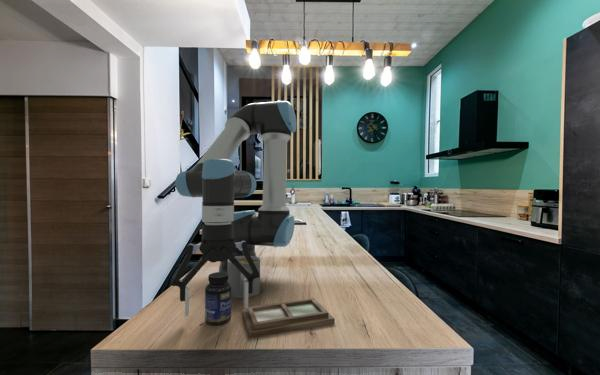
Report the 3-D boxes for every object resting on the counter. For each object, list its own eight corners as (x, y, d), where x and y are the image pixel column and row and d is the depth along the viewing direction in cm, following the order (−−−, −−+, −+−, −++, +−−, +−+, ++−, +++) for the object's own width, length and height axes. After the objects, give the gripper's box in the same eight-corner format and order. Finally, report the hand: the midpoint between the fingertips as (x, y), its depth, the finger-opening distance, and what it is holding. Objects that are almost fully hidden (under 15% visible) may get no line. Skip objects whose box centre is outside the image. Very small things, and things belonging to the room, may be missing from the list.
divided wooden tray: (242, 314, 72) (242, 305, 72) (315, 303, 78) (315, 295, 78) (250, 338, 61) (250, 327, 61) (334, 323, 67) (334, 314, 67)
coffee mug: (231, 286, 92) (231, 255, 92) (262, 286, 92) (262, 255, 92) (220, 302, 79) (220, 267, 79) (255, 303, 79) (255, 267, 79)
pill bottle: (223, 327, 65) (224, 279, 65) (199, 324, 66) (200, 277, 66) (235, 315, 71) (235, 271, 71) (213, 313, 73) (213, 270, 73)
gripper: (159, 226, 61) (158, 325, 61) (272, 222, 69) (271, 309, 69) (163, 222, 68) (162, 310, 68) (265, 219, 77) (264, 298, 76)
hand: (217, 310), depth 69 cm, fingers open, 13 cm apart
